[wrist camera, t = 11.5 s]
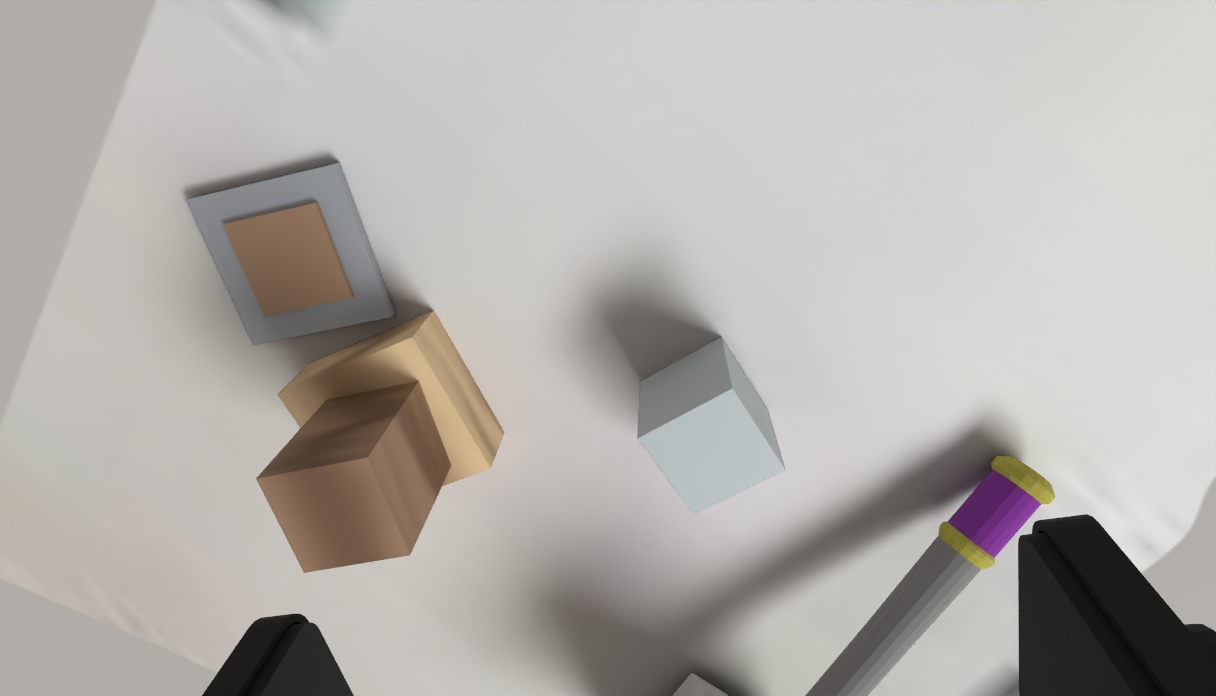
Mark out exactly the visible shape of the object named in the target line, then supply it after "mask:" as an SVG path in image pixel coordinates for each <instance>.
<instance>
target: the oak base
mask: <svg viewBox="0 0 1216 696" xmlns="http://www.w3.org/2000/svg"><path fill="white" fill-rule="evenodd" d="M416 381H419V382H420V385H421V388H422V390H423V393H424V395H425V398H426V401H427V403H428V406H429V408H430V411H431V414H432V416H433V419H434V421H435V424H436V427H437V429H438V432H439V435H440V437H441V440H442V442H443V445H444V448H445V450H446V453H447V455H448V458H449V461H450V463H451V468H450V470H449V472H448V474H447V476H446V478H445V481H444V483H443V485H442V486H444V485H447V484H449V483H452V482H455V481H457V480H460V479H463V478H466V477H468V476H471V475H474V474H477V473H479V472H482V471H485V470H487V469H490V468H491V466H492V464H493V461H494V458H495V456H496V453H497V450H498V448H499V445H500V442H501V440H502V437H503V434H504V431H503V429H502V428H501V426H500V424H499V422H498V421H497V419H496V417H495V415H494V414H493V412H492V410H491V409H490V407H489V405H488V403H487V402H486V400H485V398H484V396H483V395H482V393H481V391H480V389H479V388H478V386H477V384H476V382H475V381H474V379H473V377H472V376H471V374H470V372H469V370H468V369H467V367H466V365H465V363H464V362H463V360H462V358H461V356H460V355H459V353H458V351H457V349H456V348H455V346H454V344H453V342H452V341H451V339H450V337H449V336H448V334H447V332H446V330H445V329H444V327H443V325H442V323H441V322H440V320H439V318H438V316H437V315H436V313H435V311H434V310H433V311H431V312H428V313H426V314H424V315H421V316H419V317H417V318H414V319H412V320H410V321H407V322H405V323H403V324H400V325H398V326H396V327H393V328H391V329H389V330H386V331H384V332H382V333H379V334H377V335H375V336H372V337H370V338H368V339H365V340H363V341H361V342H358V343H356V344H354V345H351V346H349V347H347V348H344V349H342V350H340V351H337V352H335V353H333V354H330V355H328V356H326V357H323V358H321V359H319V360H316V361H314V362H312V363H309V364H308V365H307V366H306V367H305V368H304V369H303V370H302V371H301V372H300V373H299V374H298V375H297V376H296V377H295V378H294V379H293V380H292V381H291V382H289V383H288V384H287V385H286V386H285V387H284V388H283V389H282V390H281V391H280V392H279V393H278V396H279V397H280V399H281V400H282V402H283V403H284V404H285V406H286V407H287V409H288V410H289V412H290V413H291V415H292V416H293V417H294V419H295V420H296V422H297V423H298V425H299V426H300V428H302V426H303V425H304V424H305V423H306V422H307V421H308V420H309V419H310V417H311V416H312V415H313V414H314V413H315V412H316V411H317V410H318V408H319V407H320V406H321V405H322V404H323V403H324V402H325V401H326V400H328V399H332V398H337V397H342V396H347V395H352V394H357V393H362V392H367V391H372V390H377V389H382V388H387V387H392V386H396V385H401V384H406V383H411V382H416Z"/></svg>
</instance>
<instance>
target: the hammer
mask: <svg viewBox="0 0 1216 696" xmlns="http://www.w3.org/2000/svg"><path fill="white" fill-rule="evenodd" d="M991 466H992V471H991V472H990V473H989V474H988V475H987V476H986V478H985V479H984V480H983V481H982V482H981V483H980V485H979V486H978V487H977V488H976V489H975V490H974V492H973V493H972V494H971V495H970V496H969V497H968V499H967V500H966V501H965V502H964V503H963V504H962V506H961V507H960V508H959V509H958V510H957V511H956V513H955V514H954V515H953V516H952V517H951V519H950V520H949V521H948V522H943V523H942V524H941V525H940V528H939V535H938V537H937V538H936V539H935V541H934V542H933V543H932V544H931V545H930V547H929V548H928V549H927V550H926V552H925V553H924V554H923V555H922V556H921V558H920V559H919V560H918V561H917V563H916V564H915V565H914V566H913V567H912V569H911V570H910V571H909V572H908V573H907V575H906V576H905V577H904V578H903V580H902V581H901V582H900V583H899V584H898V586H897V587H896V588H895V589H894V591H893V592H892V593H891V594H890V595H889V597H888V598H887V599H886V600H885V601H884V603H883V604H882V605H881V606H880V608H879V609H878V610H877V611H876V612H875V614H874V615H873V616H872V617H871V619H870V620H869V621H868V622H867V623H866V625H865V626H864V627H863V628H862V629H861V631H860V632H859V633H858V634H857V635H856V636H855V638H854V639H853V640H852V641H851V642H850V644H849V645H848V646H847V647H846V648H845V649H844V651H843V652H842V653H841V654H840V655H839V657H838V658H837V659H836V660H835V661H834V663H833V664H832V665H831V666H830V667H829V668H828V670H827V671H826V672H825V673H824V674H823V676H822V677H821V678H820V679H819V680H818V681H817V683H816V684H815V685H814V686H813V687H812V689H811V690H810V691H809V692H808V693H807V695H806V696H868V695H869V694H870V693H871V691H872V690H873V689H874V688H875V687H876V686H877V685H878V683H879V682H880V681H881V680H882V679H883V678H884V677H885V676H886V674H887V673H888V672H889V671H890V670H891V669H892V668H893V666H894V665H895V664H896V663H897V662H898V661H899V660H900V659H901V657H902V656H903V655H904V654H905V653H906V652H907V651H908V650H909V649H910V647H911V646H912V645H913V644H914V643H915V642H916V641H917V640H918V639H919V638H920V636H921V635H922V634H923V633H924V632H925V631H926V630H927V629H928V628H929V627H930V625H931V624H932V623H933V622H934V621H935V620H936V619H937V618H938V617H939V616H940V614H941V613H942V612H943V611H944V610H945V609H946V608H947V607H948V606H949V605H950V603H951V602H952V601H953V600H954V599H955V598H956V597H957V596H958V595H959V593H960V592H961V591H962V590H963V589H964V588H965V587H966V586H967V585H968V584H969V582H970V581H971V580H972V579H973V578H974V577H975V576H976V575H977V574H978V573H979V571H980V570H981V569H985V568H988V567H991V566H992V565H993V564H994V563H995V560H994V558H995V557H996V555H997V554H998V553H999V552H1000V551H1001V550H1002V548H1003V547H1004V546H1005V545H1006V544H1007V543H1008V542H1009V540H1010V539H1011V538H1012V537H1013V536H1014V535H1015V534H1016V532H1017V531H1018V530H1019V529H1020V528H1021V527H1022V526H1023V524H1024V523H1025V522H1026V521H1027V520H1028V519H1029V518H1030V516H1031V515H1032V514H1033V513H1034V512H1035V511H1036V509H1037V508H1038V507H1039V506H1040V505H1041V504H1049V503H1050V502H1051V501H1052V500H1053V499H1054V498H1055V495H1054V492H1053V489H1052V486H1051V484H1050V483H1049V482H1048V481H1047V480H1046V479H1045V478H1043V477H1042V476H1041V475H1039V474H1038V473H1037V472H1035V471H1034V470H1032V469H1031V468H1030V467H1028V466H1027V465H1025V464H1024V463H1022V462H1020V461H1019V460H1017V459H1015V458H1013V457H1011V456H996V458H995V459H994V460H993V461H992V462H991ZM673 696H729V695H727V694H725V693H724V692H722V691H721V690H719V689H717V688H716V687H714V686H713V685H711V684H709V683H708V682H706V681H705V680H703V679H701V678H700V677H698V676H697V675H695V674H693V673H691V674H690V675H689V676H688V677H687V679H686V680H685V681H684V682H683V683H682V685H681V686H680V687H679V688H678V690H677V691H676V692H675V693H674V694H673Z"/></svg>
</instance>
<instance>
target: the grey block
mask: <svg viewBox="0 0 1216 696" xmlns="http://www.w3.org/2000/svg"><path fill="white" fill-rule="evenodd" d="M637 439H638V440H639V442H640V443H641V444H642V446H643V447H644V449H645V450H646V451H647V453H648V454H649V456H650V457H651V458H652V460H653V461H654V462H655V464H656V465H657V467H658V468H659V469H660V471H661V472H662V474H663V475H664V476H665V478H666V479H667V480H668V482H669V483H670V485H671V486H672V487H673V489H674V490H675V492H676V493H677V494H678V496H679V497H680V498H681V500H682V501H683V503H684V504H685V505H686V507H687V508H688V510H689V511H690V512H691V514H692V515H694V514H696V513H698V512H700V511H702V510H704V509H706V508H708V507H711V506H713V505H715V504H717V503H719V502H721V501H723V500H725V499H727V498H729V497H731V496H733V495H735V494H737V493H739V492H742V491H744V490H746V489H748V488H750V487H752V486H754V485H756V484H758V483H760V482H762V481H764V480H766V479H768V478H771V477H773V476H775V475H777V474H779V473H781V472H783V471H785V466H784V463H783V460H782V456H781V453H780V449H779V446H778V442H777V439H776V435H775V432H774V429H773V425H772V422H771V418H770V415H769V411H768V408H767V407H766V405H765V404H764V402H763V401H762V399H761V397H760V396H759V394H758V393H757V391H756V390H755V388H754V386H753V385H752V383H751V382H750V380H749V379H748V377H747V375H746V374H745V372H744V371H743V369H742V368H741V366H740V364H739V363H738V361H737V360H736V358H735V357H734V355H733V353H732V352H731V350H730V349H729V347H728V346H727V344H726V342H725V341H724V339H723V338H722V337H720V338H718V339H716V340H714V341H712V342H711V343H709V344H707V345H705V346H703V347H702V348H700V349H698V350H696V351H694V352H693V353H691V354H689V355H687V356H685V357H684V358H682V359H680V360H678V361H676V362H675V363H673V364H671V365H669V366H667V367H666V368H664V369H662V370H660V371H658V372H656V373H655V374H653V375H651V376H649V377H647V378H646V379H644V380H642V381H640V396H639V416H638V436H637Z"/></svg>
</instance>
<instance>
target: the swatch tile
mask: <svg viewBox="0 0 1216 696" xmlns="http://www.w3.org/2000/svg"><path fill="white" fill-rule="evenodd" d="M186 201H187V203H188V205H189V207H190V210H191V212H192V214H193V216H194V218H195V220H196V223H197V225H198V227H199V229H200V231H201V233H202V236H203V238H204V240H205V242H206V244H207V246H208V249H209V251H210V253H211V255H212V257H213V259H214V262H215V264H216V266H217V268H218V270H219V273H220V275H221V277H222V279H223V281H224V283H225V286H226V288H227V290H228V292H229V294H230V296H231V299H232V301H233V303H234V305H235V307H236V309H237V312H238V314H239V316H240V318H241V320H242V322H243V325H244V327H245V329H246V331H247V333H248V335H249V338H250V340H251V342H252V344H253V345H258V344H263V343H268V342H273V341H278V340H282V339H287V338H292V337H297V336H302V335H307V334H312V333H317V332H321V331H326V330H331V329H336V328H341V327H346V326H351V325H356V324H360V323H365V322H370V321H375V320H380V319H385V318H390V317H392V316H393V315H394V314H395V310H394V308H393V305H392V302H391V300H390V297H389V294H388V292H387V289H386V286H385V283H384V281H383V278H382V275H381V273H380V270H379V267H378V265H377V262H376V259H375V256H374V254H373V251H372V248H371V246H370V243H369V240H368V238H367V235H366V232H365V229H364V227H363V224H362V221H361V219H360V216H359V213H358V211H357V208H356V205H355V202H354V200H353V197H352V194H351V192H350V189H349V186H348V184H347V181H346V178H345V175H344V173H343V170H342V167H341V165H340V162H338V163H334V164H330V165H326V166H322V167H317V168H313V169H309V170H305V171H301V172H297V173H293V174H288V175H284V176H280V177H276V178H272V179H268V180H264V181H259V182H255V183H251V184H247V185H243V186H239V187H235V188H230V189H226V190H222V191H218V192H214V193H210V194H206V195H202V196H197V197H193V198H190V199H188V200H186Z"/></svg>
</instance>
